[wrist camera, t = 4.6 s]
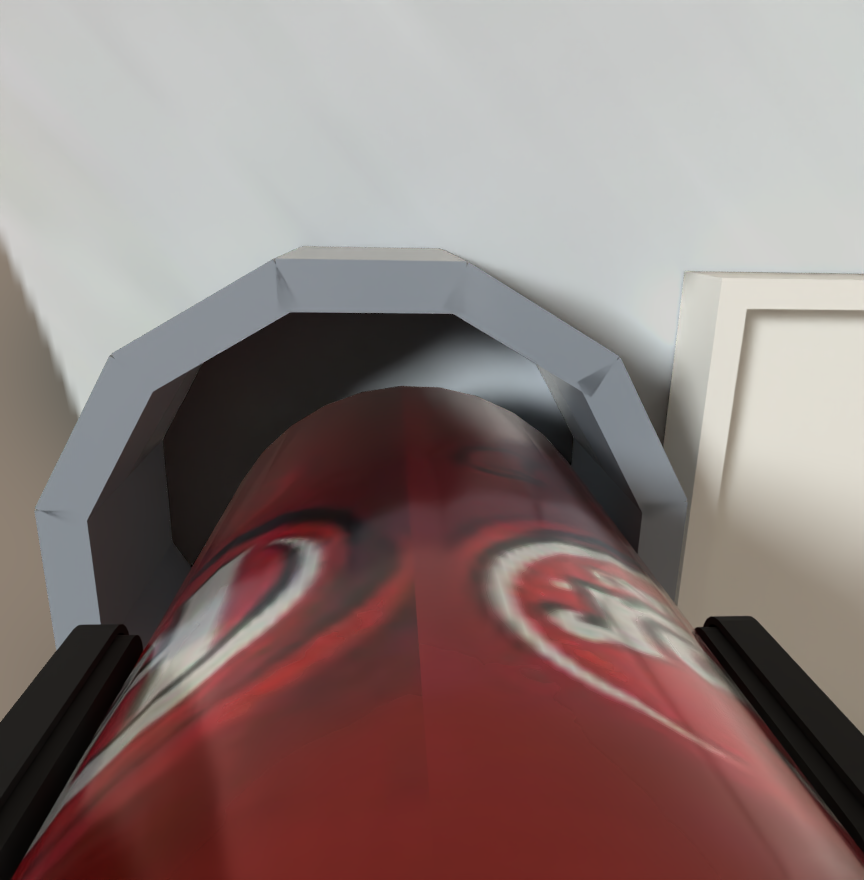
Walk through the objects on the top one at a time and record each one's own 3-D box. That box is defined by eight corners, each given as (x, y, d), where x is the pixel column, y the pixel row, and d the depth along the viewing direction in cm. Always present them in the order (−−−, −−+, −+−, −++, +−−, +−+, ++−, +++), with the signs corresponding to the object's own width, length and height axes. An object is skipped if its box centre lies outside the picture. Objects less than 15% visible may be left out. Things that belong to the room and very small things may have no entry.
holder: (624, 251, 16) (720, 265, 11) (583, 682, 19) (644, 818, 15) (103, 243, 15) (-6, 254, 10) (154, 696, 18) (87, 846, 14)
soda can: (251, 718, 15) (-147, 2139, 4) (205, 389, 13) (-905, 1376, 2) (584, 693, 16) (1110, 1946, 4) (591, 367, 14) (1644, 1104, 2)
